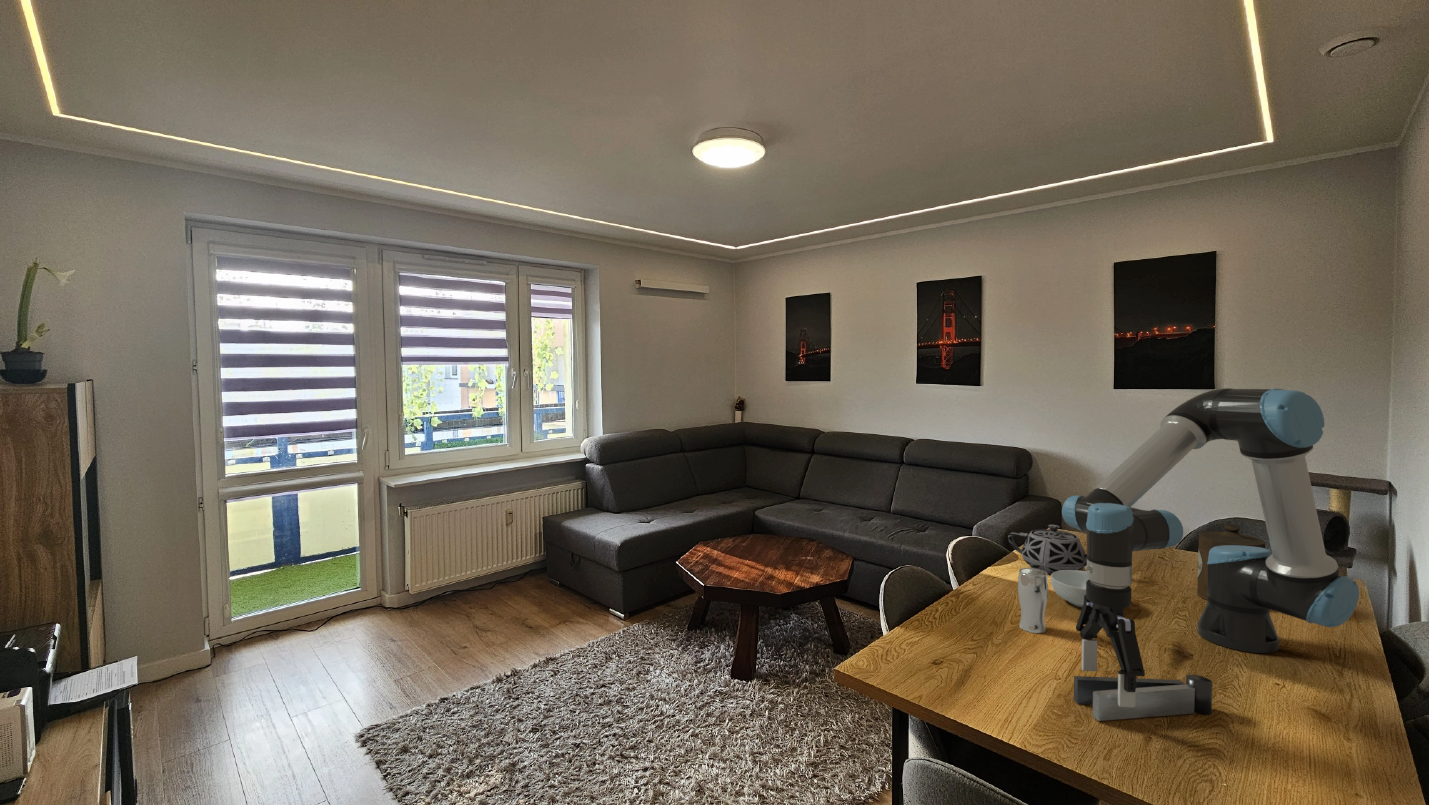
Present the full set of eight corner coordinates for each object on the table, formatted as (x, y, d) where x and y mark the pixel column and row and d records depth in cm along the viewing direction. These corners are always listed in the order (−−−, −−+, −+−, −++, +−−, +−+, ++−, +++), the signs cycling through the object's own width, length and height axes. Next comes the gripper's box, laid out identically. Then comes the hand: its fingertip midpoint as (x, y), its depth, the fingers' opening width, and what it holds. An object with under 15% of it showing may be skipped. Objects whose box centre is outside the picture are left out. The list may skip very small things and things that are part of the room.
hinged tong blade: (1187, 709, 117) (1187, 684, 117) (1194, 713, 116) (1194, 688, 116) (1092, 716, 115) (1093, 691, 115) (1098, 721, 114) (1098, 695, 114)
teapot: (1104, 588, 183) (1104, 540, 183) (999, 567, 205) (999, 524, 204) (1116, 572, 197) (1117, 527, 197) (1016, 554, 218) (1017, 514, 218)
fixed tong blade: (1202, 704, 119) (1202, 675, 119) (1216, 715, 116) (1217, 685, 115) (1072, 698, 122) (1073, 670, 122) (1082, 709, 118) (1083, 680, 118)
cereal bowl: (1055, 610, 167) (1055, 585, 167) (1046, 590, 183) (1047, 567, 182) (1126, 618, 161) (1127, 593, 161) (1112, 597, 176) (1112, 573, 176)
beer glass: (1051, 635, 151) (1052, 577, 151) (1022, 633, 153) (1022, 575, 152) (1042, 624, 158) (1043, 568, 158) (1014, 622, 160) (1014, 567, 159)
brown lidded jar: (1218, 587, 182) (1220, 516, 181) (1277, 605, 168) (1279, 528, 167) (1184, 594, 178) (1186, 521, 177) (1242, 612, 164) (1244, 533, 163)
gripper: (1059, 562, 131) (1058, 657, 132) (1124, 606, 106) (1122, 722, 107) (1095, 563, 130) (1094, 658, 131) (1169, 607, 106) (1167, 724, 107)
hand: (1106, 687), depth 119 cm, fingers open, 13 cm apart
